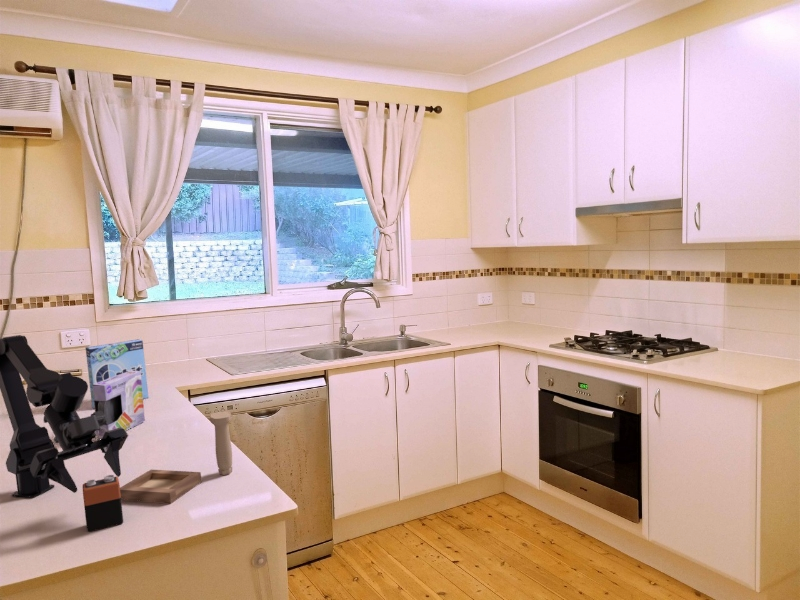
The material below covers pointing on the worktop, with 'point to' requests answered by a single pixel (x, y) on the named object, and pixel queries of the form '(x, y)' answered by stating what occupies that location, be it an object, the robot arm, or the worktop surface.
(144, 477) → the brown wooden flat tray
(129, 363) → the light blue flat box
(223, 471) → the handle
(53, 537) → the worktop surface
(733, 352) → the worktop surface
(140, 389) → the cake pan box
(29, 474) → the robot arm
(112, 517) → the battery
